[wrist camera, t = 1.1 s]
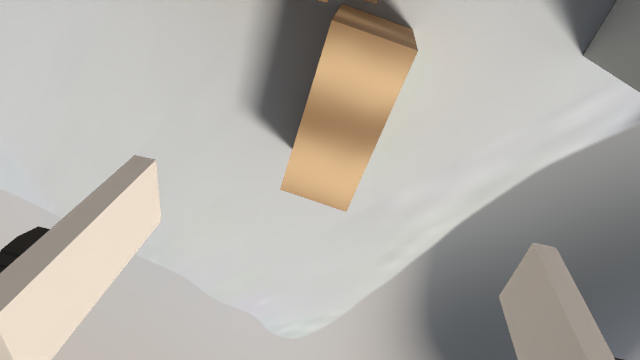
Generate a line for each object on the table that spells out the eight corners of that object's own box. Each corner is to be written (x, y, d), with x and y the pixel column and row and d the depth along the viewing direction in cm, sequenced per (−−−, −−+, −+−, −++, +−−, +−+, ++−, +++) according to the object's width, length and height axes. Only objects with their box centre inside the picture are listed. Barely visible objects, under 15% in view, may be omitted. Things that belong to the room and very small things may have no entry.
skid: (352, 170, 33) (346, 211, 28) (296, 151, 33) (280, 189, 28) (412, 28, 26) (417, 50, 21) (342, 3, 26) (331, 19, 21)
